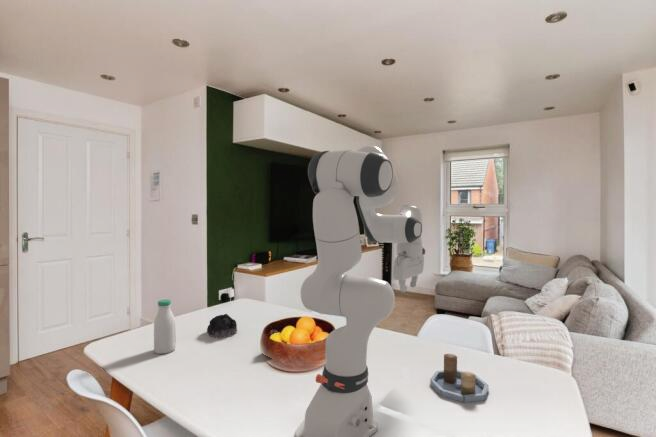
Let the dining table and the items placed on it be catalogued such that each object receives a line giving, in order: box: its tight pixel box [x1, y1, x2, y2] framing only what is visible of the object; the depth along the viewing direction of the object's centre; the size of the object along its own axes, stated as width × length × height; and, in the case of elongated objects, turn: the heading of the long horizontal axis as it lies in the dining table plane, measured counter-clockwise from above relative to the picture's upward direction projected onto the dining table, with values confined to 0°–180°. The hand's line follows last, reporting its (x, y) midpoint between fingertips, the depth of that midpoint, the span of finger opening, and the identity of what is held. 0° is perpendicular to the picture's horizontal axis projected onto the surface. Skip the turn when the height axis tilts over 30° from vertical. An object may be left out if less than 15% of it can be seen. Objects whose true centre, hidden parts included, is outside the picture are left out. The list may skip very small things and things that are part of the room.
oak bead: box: [461, 371, 477, 395], centre depth 103 cm, size 4×4×6 cm
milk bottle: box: [153, 299, 177, 355], centre depth 136 cm, size 8×8×20 cm
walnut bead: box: [443, 353, 458, 384], centre depth 111 cm, size 4×4×8 cm
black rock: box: [206, 313, 238, 339], centre depth 156 cm, size 13×14×10 cm
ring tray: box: [429, 369, 489, 403], centre depth 107 cm, size 16×16×3 cm
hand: (408, 289), depth 124 cm, fingers open, 8 cm apart
